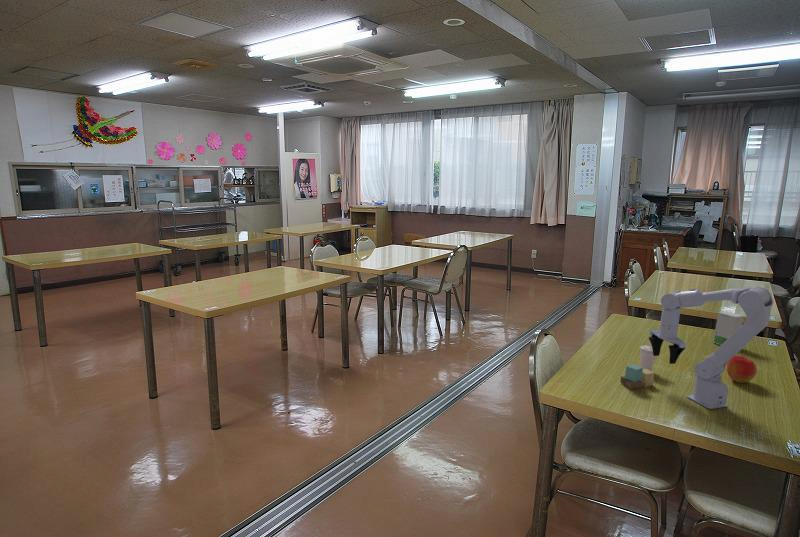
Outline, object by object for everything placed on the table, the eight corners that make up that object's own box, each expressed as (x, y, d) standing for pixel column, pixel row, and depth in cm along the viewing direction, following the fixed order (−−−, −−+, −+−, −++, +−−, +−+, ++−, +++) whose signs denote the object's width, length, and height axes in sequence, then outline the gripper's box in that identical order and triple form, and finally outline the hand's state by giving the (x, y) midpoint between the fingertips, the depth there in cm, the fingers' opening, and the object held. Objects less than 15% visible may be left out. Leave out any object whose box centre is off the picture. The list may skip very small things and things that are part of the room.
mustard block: (652, 385, 177) (654, 373, 176) (644, 386, 176) (645, 374, 175) (644, 381, 181) (646, 368, 180) (636, 382, 179) (637, 369, 179)
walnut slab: (644, 389, 174) (645, 382, 173) (629, 390, 173) (630, 382, 172) (634, 382, 180) (635, 375, 179) (620, 383, 179) (621, 376, 178)
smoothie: (657, 374, 187) (661, 341, 184) (639, 373, 188) (643, 339, 185) (652, 368, 193) (656, 335, 190) (635, 366, 194) (639, 334, 191)
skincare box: (712, 343, 224) (717, 311, 221) (720, 341, 227) (725, 310, 224) (730, 349, 217) (735, 316, 214) (739, 347, 219) (744, 315, 216)
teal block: (634, 382, 173) (636, 369, 172) (624, 378, 176) (626, 365, 175) (641, 380, 175) (643, 367, 174) (631, 376, 178) (633, 364, 177)
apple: (743, 388, 176) (747, 363, 174) (718, 378, 184) (721, 354, 182) (759, 384, 179) (764, 359, 177) (734, 374, 188) (738, 351, 186)
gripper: (694, 330, 166) (689, 366, 169) (662, 318, 180) (657, 351, 183) (679, 331, 164) (673, 367, 167) (647, 319, 178) (642, 352, 181)
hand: (664, 359), depth 175 cm, fingers open, 7 cm apart
